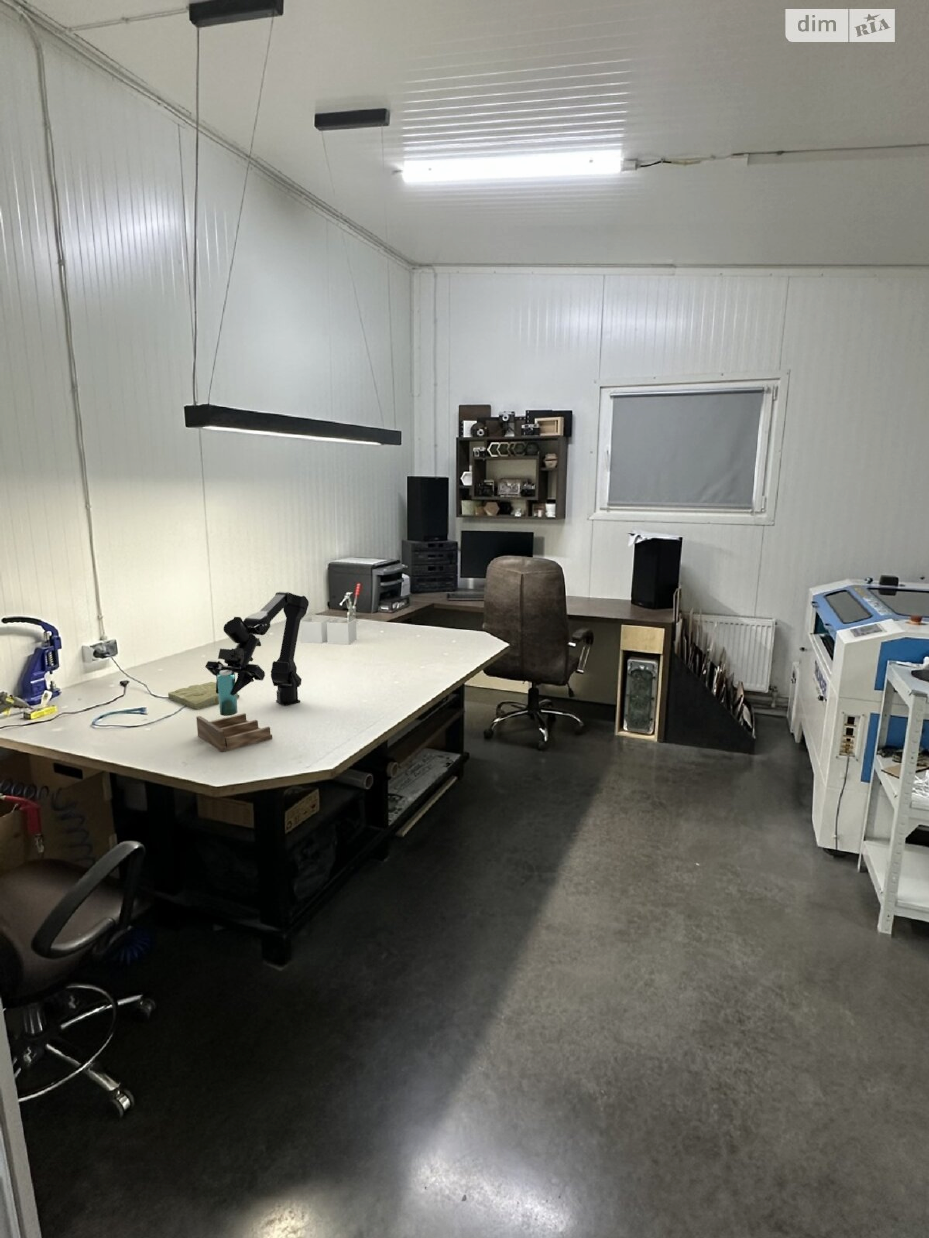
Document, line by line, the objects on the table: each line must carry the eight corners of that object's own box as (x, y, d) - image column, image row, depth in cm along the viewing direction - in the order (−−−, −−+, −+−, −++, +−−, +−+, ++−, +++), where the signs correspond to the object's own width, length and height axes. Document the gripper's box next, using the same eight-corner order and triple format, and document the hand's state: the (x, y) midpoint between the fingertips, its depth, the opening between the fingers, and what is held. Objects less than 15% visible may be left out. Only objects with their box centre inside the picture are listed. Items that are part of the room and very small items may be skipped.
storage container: (301, 642, 335) (300, 621, 333) (310, 638, 345) (309, 617, 343) (348, 645, 330) (347, 623, 328) (356, 640, 340) (356, 619, 338)
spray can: (239, 710, 213) (236, 669, 211) (234, 715, 208) (231, 673, 205) (223, 710, 213) (220, 669, 211) (217, 715, 208) (214, 673, 205)
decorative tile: (196, 711, 234) (195, 701, 234) (167, 699, 247) (166, 690, 246) (244, 698, 249) (243, 689, 248) (214, 688, 261) (214, 679, 261)
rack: (246, 723, 221) (245, 705, 220) (272, 738, 208) (271, 719, 207) (197, 735, 210) (196, 716, 209) (221, 752, 197) (220, 732, 196)
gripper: (206, 635, 213) (185, 678, 205) (257, 639, 207) (237, 684, 199) (224, 653, 222) (204, 695, 213) (273, 658, 216) (255, 701, 208)
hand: (224, 694), depth 208 cm, fingers closed on spray can, 5 cm apart
